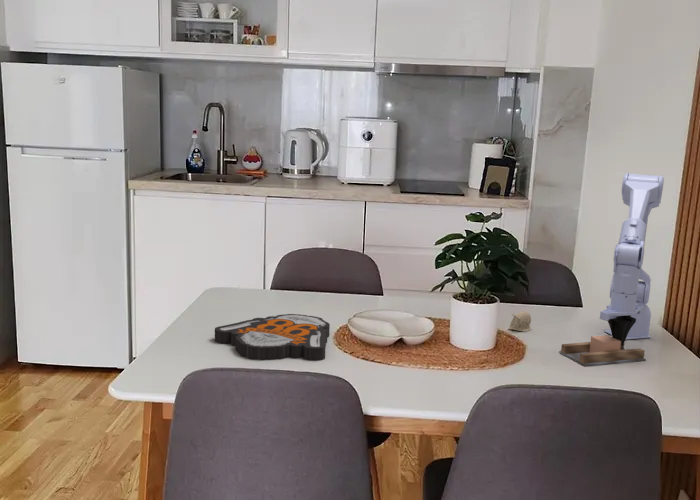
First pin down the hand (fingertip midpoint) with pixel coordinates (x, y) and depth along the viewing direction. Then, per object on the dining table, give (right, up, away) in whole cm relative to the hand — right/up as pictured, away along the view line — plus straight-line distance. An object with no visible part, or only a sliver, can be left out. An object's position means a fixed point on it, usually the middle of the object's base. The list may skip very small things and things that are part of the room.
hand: (618, 344), depth 177 cm
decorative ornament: (-20, +1, +19) cm, 28 cm away
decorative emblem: (-83, 0, 0) cm, 83 cm away
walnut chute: (-4, -3, -1) cm, 5 cm away
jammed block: (-4, -3, -1) cm, 5 cm away
